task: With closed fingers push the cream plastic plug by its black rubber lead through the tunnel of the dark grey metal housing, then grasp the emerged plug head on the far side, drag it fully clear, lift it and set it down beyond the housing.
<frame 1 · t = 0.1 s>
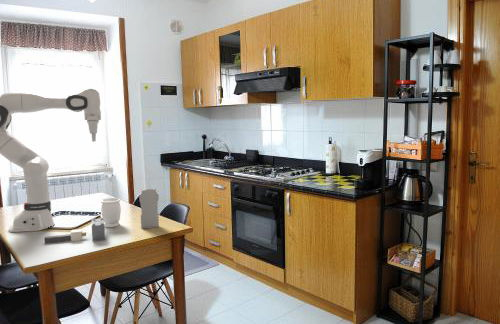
hand: (94, 140, 227), 48 cm above the table, fingers open, 8 cm apart
plug: (76, 239, 199), on the table
tall pale column: (150, 227, 219), on the table
jar: (111, 225, 223), on the table
housing: (98, 236, 202), on the table
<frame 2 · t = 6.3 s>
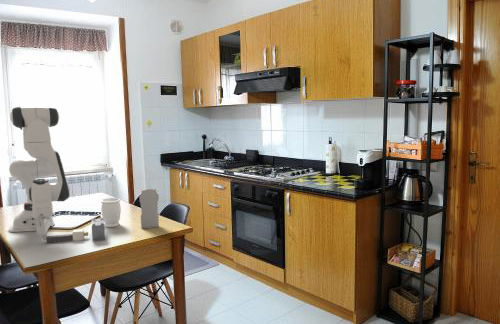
hand: (44, 239, 193), 2 cm above the table, fingers closed, pressing on plug
plug: (78, 239, 199), on the table, touching gripper
everything else where it was.
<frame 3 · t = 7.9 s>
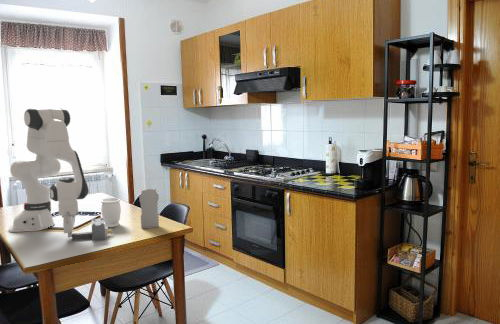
hand: (70, 236, 197), 2 cm above the table, fingers closed, pressing on plug
plug: (102, 236, 203), on the table, touching gripper
everything else where it was.
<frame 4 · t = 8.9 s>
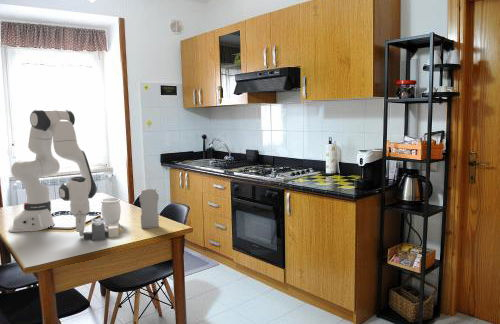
hand: (81, 235, 199), 2 cm above the table, fingers closed, pressing on plug
plug: (113, 235, 205), on the table, touching gripper
everything else where it was.
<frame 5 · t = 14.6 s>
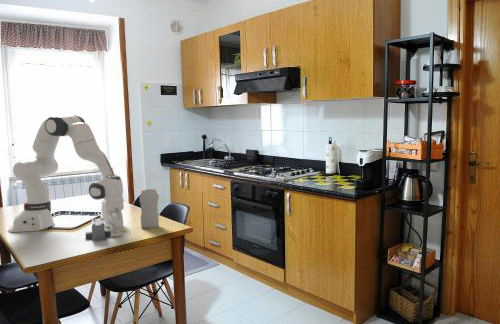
hand: (115, 231, 205), 2 cm above the table, fingers closed on plug, 5 cm apart
plug: (115, 235, 205), on the table, touching gripper
everything else where it was.
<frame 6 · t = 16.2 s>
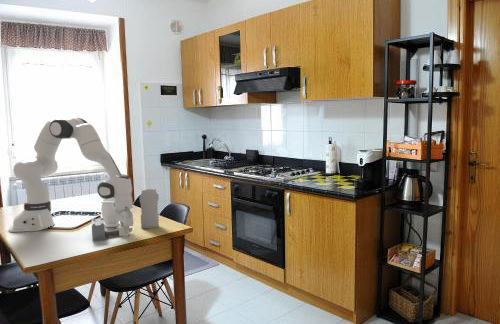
hand: (125, 230, 207), 2 cm above the table, fingers closed on plug, 5 cm apart
plug: (123, 234, 206), on the table, touching gripper
everything else where it was.
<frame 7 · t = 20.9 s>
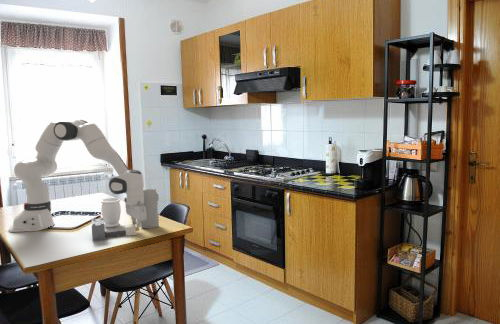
hand: (136, 225, 209), 4 cm above the table, fingers open, 4 cm apart
plug: (130, 234, 207), on the table, touching gripper
everything else where it was.
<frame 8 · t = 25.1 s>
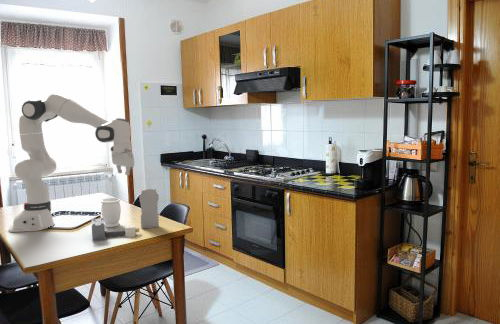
hand: (123, 174, 211), 31 cm above the table, fingers open, 8 cm apart
plug: (130, 234, 206), on the table
everything else where it was.
at the end: plug inside the target area (7.7 cm from its centre), on the table; the gripper is holding nothing; plug touching table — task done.
